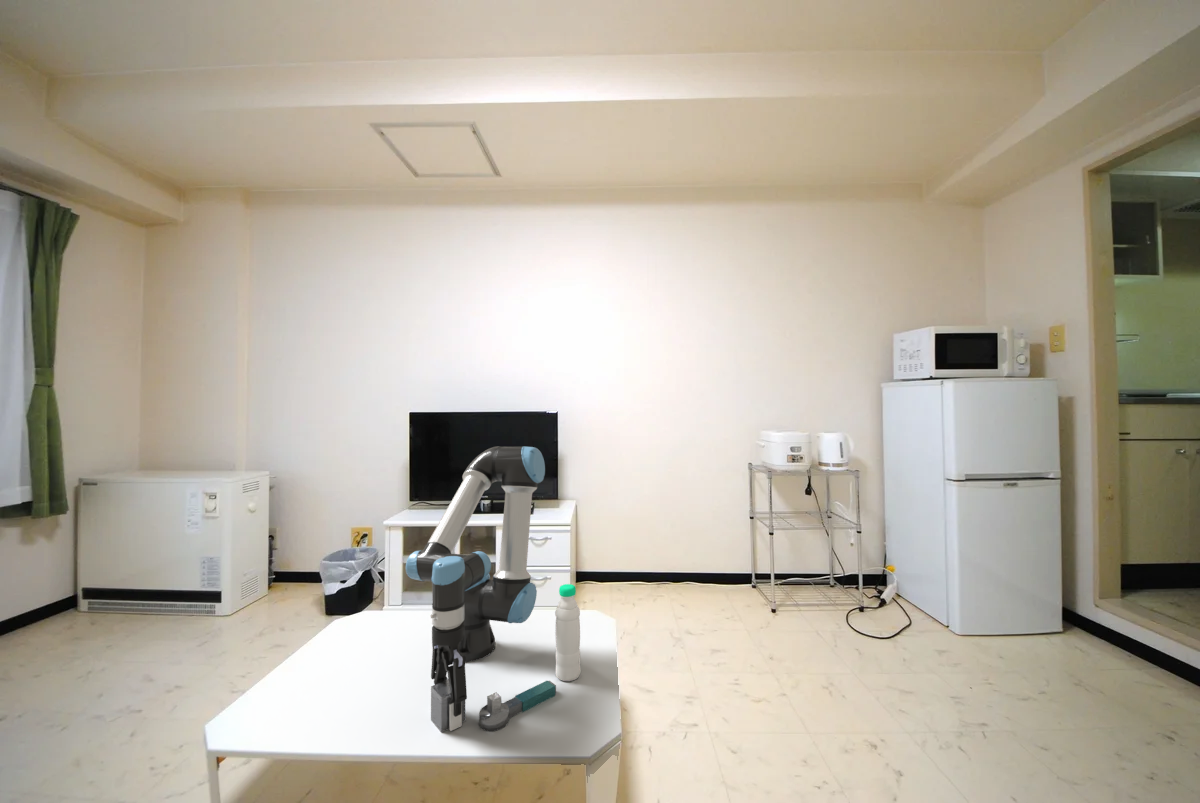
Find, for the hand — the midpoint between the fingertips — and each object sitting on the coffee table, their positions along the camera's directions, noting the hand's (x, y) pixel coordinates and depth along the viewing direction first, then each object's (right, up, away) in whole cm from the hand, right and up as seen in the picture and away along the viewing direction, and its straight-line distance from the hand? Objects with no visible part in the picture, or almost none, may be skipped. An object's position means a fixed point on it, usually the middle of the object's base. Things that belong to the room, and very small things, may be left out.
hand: (448, 719), depth 110 cm
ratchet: (+16, 0, +4) cm, 17 cm away
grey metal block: (0, 0, 0) cm, 0 cm away
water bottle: (+28, -1, +19) cm, 34 cm away
